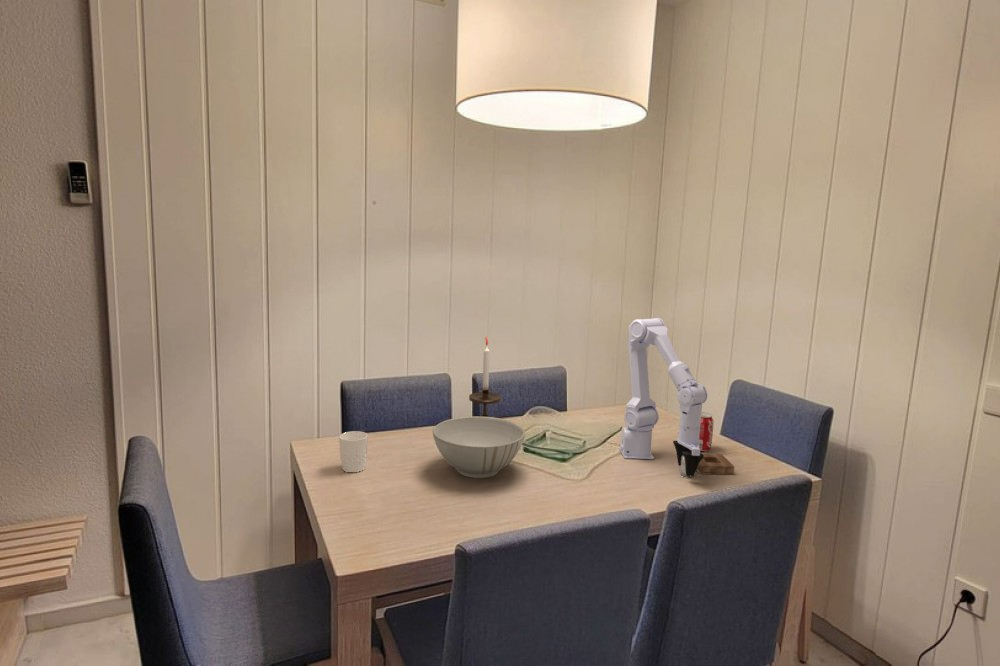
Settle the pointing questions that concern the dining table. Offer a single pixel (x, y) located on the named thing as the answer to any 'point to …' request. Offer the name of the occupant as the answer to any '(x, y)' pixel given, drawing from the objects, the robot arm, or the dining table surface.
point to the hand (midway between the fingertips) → (685, 470)
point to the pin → (683, 468)
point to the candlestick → (485, 387)
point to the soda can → (706, 431)
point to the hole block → (715, 464)
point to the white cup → (353, 451)
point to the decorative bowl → (478, 444)
